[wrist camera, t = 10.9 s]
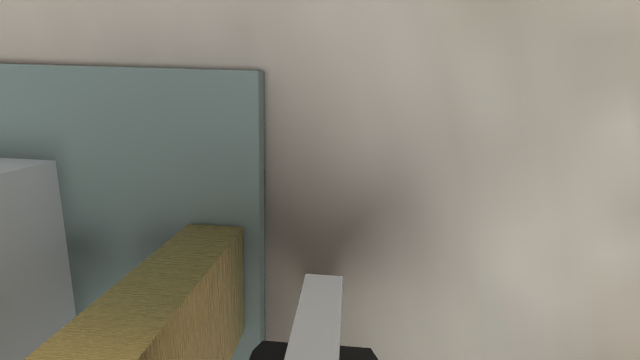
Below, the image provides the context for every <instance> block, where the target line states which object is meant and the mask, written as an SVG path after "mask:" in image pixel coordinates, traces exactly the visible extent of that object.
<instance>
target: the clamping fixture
mask: <svg viewBox="0 0 640 360" xmlns="http://www.w3.org/2000/svg"><path fill="white" fill-rule="evenodd" d="M188 224H202V225H219V226H237V227H243V261H244V316H245V330H244V332H243V334H242V337H241V339H240V341H239V343H238V346H237V348H236V350H235V352H234V355H233V357H232V359H231V360H249V358H250V356H251V353H252V350H254V349H255V348H256V347H257V346H258V345H259V344H260V343H261V342H262V341H265V212H264V72H263V71H254V70H217V69H180V68H144V67H107V66H71V65H34V64H0V360H24V359H25V358H26V357H27V356H29V355H30V354H31V353H32V352H33V351H35V350H36V349H37V348H38V347H40V346H41V345H42V344H43V343H44V342H46V341H47V340H48V339H49V338H50V337H52V336H53V335H54V334H55V333H57V332H58V331H59V330H60V329H61V328H63V327H64V326H65V325H66V324H67V323H69V322H70V321H71V320H72V319H74V318H75V317H76V316H77V315H78V314H80V313H81V312H82V311H83V310H84V309H86V308H87V307H88V306H89V305H91V304H92V303H93V302H94V301H95V300H97V299H98V298H99V297H100V296H101V295H103V294H104V293H105V292H106V291H108V290H109V289H110V288H111V287H112V286H114V285H115V284H116V283H117V282H119V281H120V280H121V279H122V278H123V277H125V276H126V275H127V274H128V273H129V272H131V271H132V270H133V269H134V268H136V267H137V266H138V265H139V264H140V263H142V262H143V261H144V260H145V259H146V258H148V257H149V256H150V255H151V254H153V253H154V252H155V251H156V250H157V249H159V248H160V247H161V246H162V245H163V244H165V243H166V242H167V241H168V240H170V239H171V238H172V237H173V236H174V235H176V234H177V233H178V232H179V231H180V230H182V229H183V228H184V227H185V226H187V225H188Z"/></svg>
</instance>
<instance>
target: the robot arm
mask: <svg viewBox="0 0 640 360" xmlns="http://www.w3.org/2000/svg"><path fill="white" fill-rule="evenodd" d="M342 287H343V276H333V275H319V274H305V278H304V282H303V286H302V290H301V294H300V298H299V302H298V306H297V310H296V314H295V318H294V322H293V326H292V330H291V334H290V338H289V342H288V343H285V342H273V341H262V342H261V343H260V344H259V345H258V346H257V347H256V348H255V349H254V350H252V353H251V356H250V358H249V360H378V359H377V357H376V356H375V354H374V353H373V351H372V350H371V348H361V347H348V346H340V330H341V308H342Z"/></svg>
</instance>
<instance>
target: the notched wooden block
mask: <svg viewBox="0 0 640 360" xmlns="http://www.w3.org/2000/svg"><path fill="white" fill-rule="evenodd" d="M244 330H245V316H244V261H243V227H237V226H219V225H202V224H188V225H187V226H185V227H184V228H183V229H182V230H180V231H179V232H178V233H177V234H176V235H174V236H173V237H172V238H171V239H170V240H168V241H167V242H166V243H165V244H163V245H162V246H161V247H160V248H159V249H157V250H156V251H155V252H154V253H153V254H151V255H150V256H149V257H148V258H146V259H145V260H144V261H143V262H142V263H140V264H139V265H138V266H137V267H136V268H134V269H133V270H132V271H131V272H129V273H128V274H127V275H126V276H125V277H123V278H122V279H121V280H120V281H119V282H117V283H116V284H115V285H114V286H112V287H111V288H110V289H109V290H108V291H106V292H105V293H104V294H103V295H101V296H100V297H99V298H98V299H97V300H95V301H94V302H93V303H92V304H91V305H89V306H88V307H87V308H86V309H84V310H83V311H82V312H81V313H80V314H78V315H77V316H76V317H75V318H74V319H72V320H71V321H70V322H69V323H67V324H66V325H65V326H64V327H63V328H61V329H60V330H59V331H58V332H57V333H55V334H54V335H53V336H52V337H50V338H49V339H48V340H47V341H46V342H44V343H43V344H42V345H41V346H40V347H38V348H37V349H36V350H35V351H33V352H32V353H31V354H30V355H29V356H27V357H26V358H25V359H24V360H231V359H232V357H233V355H234V352H235V350H236V348H237V346H238V343H239V341H240V339H241V337H242V334H243V332H244Z"/></svg>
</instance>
